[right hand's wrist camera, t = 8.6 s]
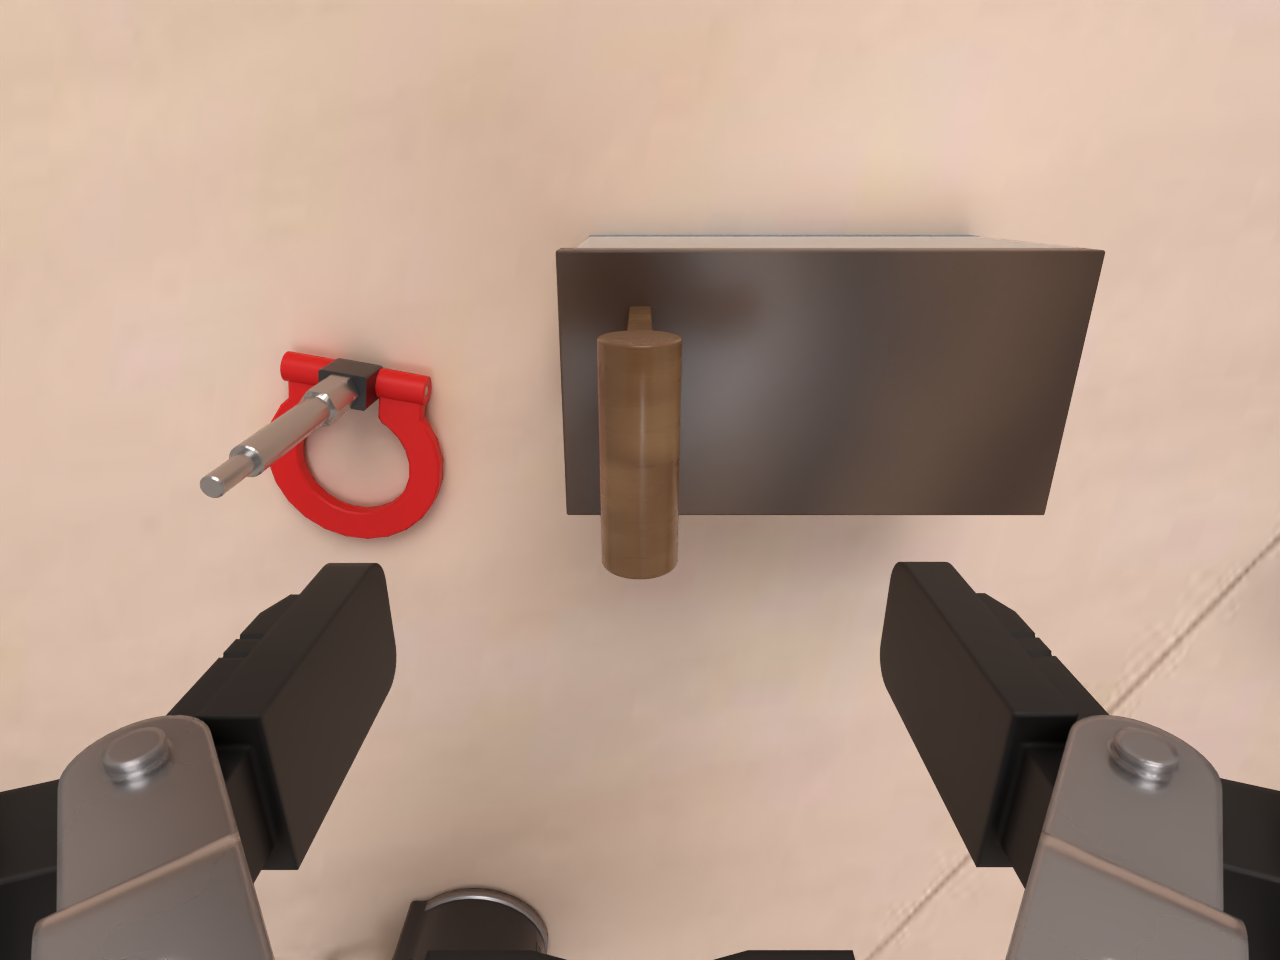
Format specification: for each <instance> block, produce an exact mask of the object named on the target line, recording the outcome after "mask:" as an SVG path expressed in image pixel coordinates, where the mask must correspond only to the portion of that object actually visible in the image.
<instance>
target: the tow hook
mask: <svg viewBox="0 0 1280 960" xmlns="http://www.w3.org/2000/svg"><path fill="white" fill-rule="evenodd" d="M280 371H281V376H282V378H283V380H285V381H289V398H288V399H287V400H286V401H285V402H284V403H283V404H281V406H280V408H279V409H278V411H277V413H276V414H275V416H274V418H273V419H272V421H271V423H270V424H268V425H267V426H265V427H264V428H262V429H261V430H259V431H258V432H256V433H255V434H254V435H252V436H251V437H249V438H248V439H246V440H245V441H243V442H242V443H240V444H239V445H238V446H236V447H235V448H233V449H232V450H231V452H230V455H229V460H227V461H226V462H225V463H223V464H222V465H220V466H219V467H217V468H216V469H215V470H213V471H212V472H210V473H209V474H208V475H206V476H205V477H203V478H202V479H201V481H200V488H201V490H202V491H203V492H204V493H205V494H206V495H207V496H209V497H212V498H218V497H221V496H222V495H224V494H225V493H226V492H227V491H229V490H230V489H231V488H233V487H234V486H235V485H236V484H238V483H239V482H240V481H242V480H243V479H244V478H245V477H255V476H258V475H260V474H261V473H262V472H263V471H265V470H266V469H267V468H268V467H271V470H272V473H273V476H274V478H275V481H276V483H277V485H278V486H279V488H280V489H281V491H282V492H283V494H284V495H285V496H286V498H287V499H288V501H289V502H290V503H291V504H292V505H293V506H294V507H295V508H296V509H298V510H299V511H300V512H301V513H302V514H303V515H304V516H305V517H306V518H308V519H310V520H311V521H313V522H315V523H316V524H318V525H320V526H321V527H323V528H325V529H327V530H330V531H333V532H336V533H339V534H341V535H344V536H350V537H358V538H366V539H369V538H379V537H388V536H391V535H393V534H396V533H399V532H401V531H404V530H407V529H408V528H409V527H411V526H412V525H413V524H415V523H416V522H417V521H419V520H420V519H421V518H422V517H423V516H424V515H425V513H426V512H427V511H428V509H429V508H430V506H431V505H432V504H433V502H434V501H435V499H436V498H437V495H438V492H439V489H440V486H441V483H442V480H443V458H442V454H441V450H440V446H439V442H438V439H437V437H436V435H435V433H434V432H433V430H432V428H431V426H430V424H429V423H428V421H427V419H426V418H425V405H426V404H427V403H428V400H429V397H430V393H431V378H430V377H429V376H423V375H418V374H412V373H407V372H401V371H396V370H390V369H384V368H383V367H382V366H380V365H374V364H369V363H363V362H358V361H352V360H347V359H341V358H338V359H336V360H335V359H329V358H323V357H318V356H312V355H307V354H301V353H296V352H290V351H288V352H286V353H285V354H284V356H283V358H282V361H281V367H280ZM378 398H379V419H380V421H381V422H382V423H383V424H384V425H386V426H387V427H388V428H389V429H390V430H391V431H392V432H393V433H394V434H395V435H396V436H397V437H398V438H399V440H400V442H401V443H402V445H403V447H404V449H405V450H406V454H407V457H408V461H409V480H408V483H407V486H406V489H405V491H404V492H403V493H402V495H400V496H399V497H398V498H396V499H395V500H394V501H393V502H390V503H387V504H385V505H382V506H377V507H368V508H367V507H359V506H352V505H350V504H347V503H344V502H341V501H339V500H337V499H336V498H334V497H333V496H331V495H329V494H328V493H326V492H325V491H324V490H323V489H322V488H321V487H320V486H319V485H318V484H317V483H316V481H315V480H314V478H313V477H312V475H311V474H310V472H309V470H308V467H307V464H306V461H305V459H304V446H303V445H304V440H305V438H306V437H307V436H308V435H310V434H311V433H312V432H313V431H315V430H316V429H317V428H318V427H320V426H329V425H330V424H332V423H333V422H334V421H335V420H337V419H338V418H339V417H340V416H341V415H343V414H344V413H345V412H346V411H347V410H349V409H350V408H351V409H356V410H362V411H364V410H366V409H367V408H368V407H369V406H370V405H371V404H373V403H374V402H375V401H376V400H377V399H378Z"/></svg>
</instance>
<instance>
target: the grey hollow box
mask: <svg viewBox="0 0 1280 960" xmlns="http://www.w3.org/2000/svg"><path fill="white" fill-rule="evenodd" d="M575 248H1078V247H1069V246H1060V245H1051V244H1042V243H1032V242H1023V241H1014V240H1005V239H996V238H987V237H979V236H972V235H591V236H589V238H588V239H586V240H585V241H583V242H582V243H581V244H579V245H578V246H577V247H575Z"/></svg>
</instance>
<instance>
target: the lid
mask: <svg viewBox="0 0 1280 960" xmlns="http://www.w3.org/2000/svg"><path fill="white" fill-rule="evenodd" d="M1104 255H1105V251H1104V250H1096V249H1087V248H561V249H559V250H557V251H556V269H557V293H558V317H559V340H560V364H561V388H562V411H563V435H564V459H565V483H566V506H567V514H568V515H601V538H602V563H603V565H604V567H605V568H606V569H607V570H608V571H609V572H611V573H613V574H615V575H617V576H620V577H624V578H630V579H649V578H655V577H659V576H662V575H665V574H667V573H669V572H670V571H671V570H673V569H674V568H675V566H676V564H677V557H678V515H1044V514H1045V509H1046V505H1047V501H1048V496H1049V492H1050V488H1051V484H1052V479H1053V475H1054V471H1055V466H1056V462H1057V458H1058V453H1059V449H1060V445H1061V440H1062V436H1063V432H1064V427H1065V423H1066V419H1067V415H1068V410H1069V406H1070V402H1071V397H1072V393H1073V389H1074V384H1075V380H1076V376H1077V371H1078V367H1079V363H1080V358H1081V354H1082V350H1083V346H1084V341H1085V337H1086V333H1087V328H1088V324H1089V320H1090V315H1091V311H1092V307H1093V302H1094V298H1095V294H1096V289H1097V285H1098V281H1099V277H1100V272H1101V268H1102V264H1103V259H1104Z"/></svg>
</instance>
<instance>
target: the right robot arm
mask: <svg viewBox="0 0 1280 960" xmlns="http://www.w3.org/2000/svg"><path fill="white" fill-rule="evenodd" d="M223 654H224V655H223V658H218V659H217V661H216V662H215V663H214V664H213V665H212V666H211V667H210V668H209V669H208V670H207V671H206V673H205V674H204V675H203V676H202V677H201V678H200V679H199V680H198V681H197V682H196V683H195V685H194V686H193V687H192V688H191V689H190V690H189V691H188V692H187V693H186V694H185V695H184V696H183V698H182V699H181V700H180V701H179V702H178V703H177V704H176V705H175V706H174V707H173V708H172V710H171V711H170V712H169V713H168V714H167V715H166V716H160V717H155V718H150V719H146V720H142V721H139V722H136V723H133V724H130V725H128V726H125V727H122V728H120V729H118V730H116V731H114V732H112V733H110V734H108V735H106V736H104V737H102V738H101V739H99V740H97V741H96V742H94V743H93V744H91V745H90V746H88V747H87V748H86V749H84V750H83V751H82V752H81V753H80V754H78V755H77V756H76V757H75V758H74V759H73V760H72V761H71V762H70V763H69V765H68V766H67V767H66V769H65V770H64V771H63V773H62V775H61V777H60V779H58V780H54V781H50V782H45V783H40V784H36V785H31V786H27V787H22V788H17V789H13V790H8V791H4V792H0V960H275V959H274V956H273V952H272V948H271V945H270V941H269V938H268V934H267V931H266V927H265V923H264V920H263V916H262V913H261V909H260V905H259V902H258V898H257V895H256V891H255V888H254V882H255V880H256V878H257V877H258V875H259V873H260V871H261V870H298V869H299V867H300V865H301V863H302V861H303V859H304V857H305V855H306V853H307V851H308V849H309V847H310V845H311V843H312V841H313V839H314V837H315V835H316V833H317V832H318V830H319V828H320V826H321V824H322V822H323V820H324V818H325V816H326V814H327V812H328V810H329V808H330V806H331V804H332V802H333V800H334V798H335V796H336V794H337V792H338V790H339V788H340V786H341V784H342V783H343V781H344V779H345V777H346V775H347V773H348V771H349V769H350V767H351V765H352V763H353V761H354V759H355V757H356V755H357V753H358V751H359V749H360V747H361V745H362V743H363V741H364V739H365V737H366V736H367V734H368V732H369V730H370V728H371V726H372V724H373V722H374V720H375V718H376V716H377V714H378V712H379V710H380V708H381V706H382V704H383V702H384V700H385V698H386V696H387V694H388V692H389V690H390V688H391V686H392V683H393V679H394V675H395V668H396V645H395V638H394V632H393V625H392V618H391V612H390V605H389V599H388V592H387V585H386V579H385V574H384V571H383V569H382V567H381V566H380V565H379V564H378V563H328V564H326V565H325V566H324V567H323V568H322V569H321V570H320V571H319V573H318V574H317V575H316V576H315V577H314V578H313V580H312V581H311V582H310V583H309V584H308V585H307V586H306V588H305V589H304V590H303V591H302V592H301V593H300V595H289V596H288V597H286V598H284V599H283V600H281V601H279V602H278V603H276V604H274V605H273V606H271V607H269V608H268V609H266V610H264V611H263V612H261V613H260V614H259V615H258V616H257V617H256V618H255V619H254V620H253V621H252V622H251V624H250V625H249V626H248V627H247V628H246V629H245V630H244V631H243V632H242V633H241V634H240V639H236V640H235V641H234V642H233V643H232V644H231V645H230V646H229V648H228V649H227V650H226V651H225V652H224V653H223ZM880 664H881V672H882V677H883V680H884V683H885V686H886V688H887V691H888V693H889V694H890V696H891V698H892V700H893V702H894V704H895V706H896V708H897V710H898V712H899V714H900V716H901V718H902V720H903V722H904V724H905V726H906V728H907V730H908V732H909V734H910V736H911V738H912V740H913V742H914V744H915V746H916V748H917V750H918V752H919V754H920V756H921V758H922V760H923V762H924V764H925V766H926V768H927V770H928V772H929V774H930V776H931V778H932V780H933V782H934V784H935V786H936V788H937V790H938V792H939V794H940V796H941V798H942V800H943V802H944V804H945V806H946V808H947V810H948V812H949V813H950V815H951V817H952V819H953V821H954V823H955V825H956V827H957V829H958V831H959V833H960V835H961V837H962V839H963V841H964V843H965V845H966V847H967V849H968V851H969V853H970V855H971V857H972V859H973V861H974V863H975V865H976V867H1013V868H1014V870H1015V872H1016V874H1017V876H1018V877H1019V879H1020V881H1021V883H1022V884H1023V886H1024V888H1025V891H1024V895H1023V898H1022V902H1021V905H1020V909H1019V913H1018V916H1017V920H1016V923H1015V927H1014V931H1013V934H1012V938H1011V941H1010V945H1009V948H1008V952H1007V956H1006V959H1005V960H1280V791H1277V790H1272V789H1268V788H1263V787H1259V786H1254V785H1249V784H1245V783H1240V782H1235V781H1231V780H1226V779H1222V778H1220V777H1219V775H1218V773H1217V771H1216V770H1215V769H1214V767H1213V766H1212V765H1211V763H1210V762H1209V761H1208V760H1207V759H1206V758H1205V757H1204V756H1203V755H1202V754H1200V753H1199V752H1198V751H1197V750H1196V749H1194V748H1193V747H1192V746H1190V745H1189V744H1187V743H1186V742H1184V741H1183V740H1181V739H1179V738H1178V737H1176V736H1174V735H1172V734H1170V733H1168V732H1166V731H1164V730H1162V729H1160V728H1158V727H1155V726H1152V725H1150V724H1147V723H1144V722H1141V721H1138V720H1134V719H1130V718H1125V717H1120V716H1112V715H1109V714H1108V713H1107V712H1106V711H1105V710H1104V709H1103V708H1102V706H1101V705H1100V704H1099V703H1098V702H1097V701H1096V700H1095V699H1094V698H1093V697H1092V695H1091V694H1090V693H1089V692H1088V691H1087V690H1086V689H1085V688H1084V687H1083V686H1082V685H1081V683H1080V682H1079V681H1078V680H1077V679H1076V678H1075V677H1074V676H1073V675H1072V674H1071V672H1070V671H1069V670H1068V669H1067V668H1066V667H1065V666H1064V665H1063V664H1062V663H1061V661H1060V660H1059V659H1058V658H1057V657H1056V656H1052V655H1051V650H1050V649H1049V648H1048V647H1047V646H1046V645H1045V644H1044V643H1043V642H1042V641H1041V639H1040V638H1035V633H1034V632H1033V631H1032V630H1031V629H1030V627H1029V626H1028V625H1027V624H1026V623H1025V622H1024V621H1023V620H1022V619H1021V618H1020V616H1019V615H1018V614H1017V613H1016V612H1015V611H1013V610H1012V609H1010V608H1008V607H1007V606H1005V605H1003V604H1002V603H1000V602H998V601H997V600H995V599H993V598H992V597H990V596H988V595H987V594H985V593H975V592H974V591H973V589H972V588H971V587H970V586H969V585H968V584H967V582H966V581H965V580H964V579H963V578H962V576H961V575H960V574H959V573H958V572H957V571H956V569H955V568H954V567H953V566H952V565H951V564H950V563H948V562H898V563H897V564H896V565H895V566H894V568H893V570H892V574H891V579H890V585H889V592H888V599H887V605H886V612H885V619H884V626H883V632H882V639H881V646H880ZM547 946H548V935H547V930H546V927H545V925H544V923H543V921H542V920H541V918H540V917H539V916H538V914H537V913H536V912H535V911H534V910H533V909H532V908H530V907H529V906H528V905H526V904H525V903H523V902H522V901H520V900H518V899H516V898H514V897H512V896H510V895H507V894H504V893H501V892H497V891H493V890H487V889H461V890H455V891H450V892H447V893H444V894H441V895H439V896H437V897H434V898H433V899H431V900H429V901H425V902H420V901H413V902H411V904H410V907H409V910H408V913H407V917H406V920H405V923H404V926H403V929H402V932H401V935H400V938H399V941H398V944H397V947H396V950H395V953H394V956H393V960H565V959H562V958H558V957H554V956H551V955H547ZM715 960H855V958H854V954H853V950H747V951H744V952H740V953H737V954H733V955H729V956H726V957H722V958H718V959H715Z"/></svg>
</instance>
